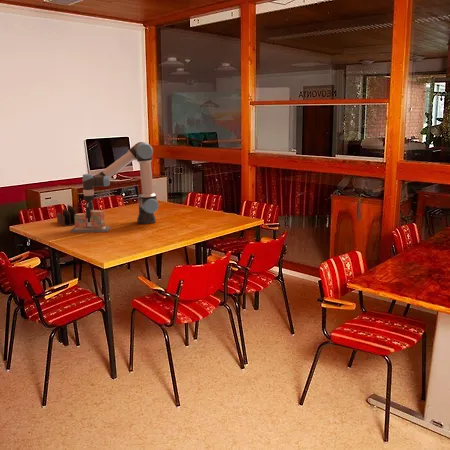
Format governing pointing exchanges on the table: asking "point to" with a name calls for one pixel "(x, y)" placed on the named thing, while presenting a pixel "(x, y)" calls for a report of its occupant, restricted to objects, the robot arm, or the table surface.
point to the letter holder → (67, 216)
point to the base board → (90, 229)
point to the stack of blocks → (96, 219)
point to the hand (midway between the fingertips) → (90, 225)
